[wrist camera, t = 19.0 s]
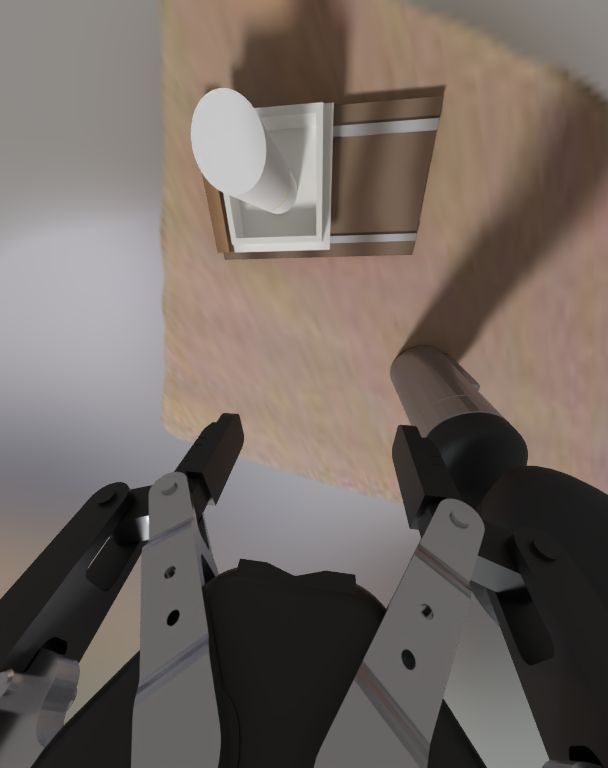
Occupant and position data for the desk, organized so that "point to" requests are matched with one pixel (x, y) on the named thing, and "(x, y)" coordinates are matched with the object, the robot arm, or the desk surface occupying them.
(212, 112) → the tube
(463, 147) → the desk surface
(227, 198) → the white open tray
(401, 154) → the track
